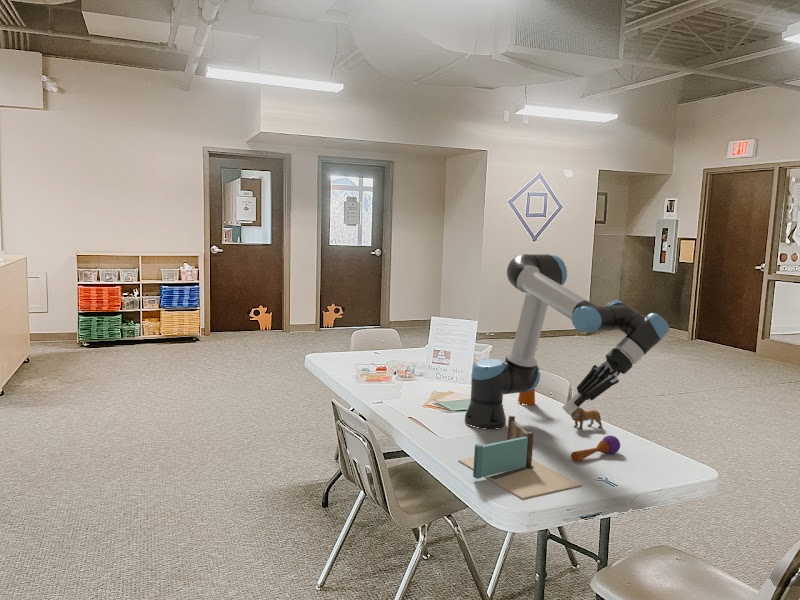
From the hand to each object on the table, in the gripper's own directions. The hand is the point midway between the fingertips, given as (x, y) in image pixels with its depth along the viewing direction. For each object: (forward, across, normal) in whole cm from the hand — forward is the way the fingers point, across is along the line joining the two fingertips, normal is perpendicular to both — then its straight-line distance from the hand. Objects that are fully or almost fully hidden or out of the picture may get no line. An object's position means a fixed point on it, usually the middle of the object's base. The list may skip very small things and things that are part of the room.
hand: (565, 411), depth 187 cm
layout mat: (+23, +2, -5) cm, 23 cm away
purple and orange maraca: (+2, +14, -27) cm, 31 cm away
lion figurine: (-5, +43, -34) cm, 55 cm away
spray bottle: (+4, +75, -25) cm, 79 cm away
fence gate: (+26, 0, 0) cm, 26 cm away
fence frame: (+20, +14, -8) cm, 25 cm away
